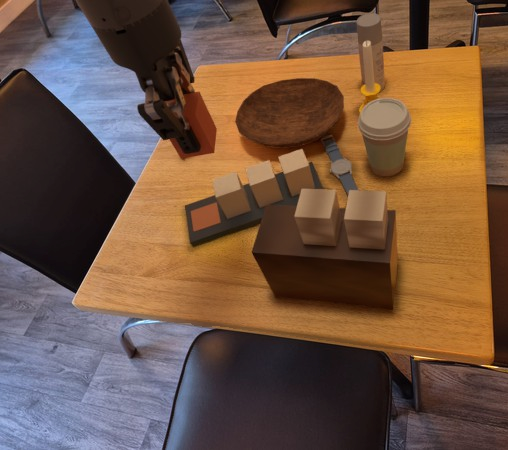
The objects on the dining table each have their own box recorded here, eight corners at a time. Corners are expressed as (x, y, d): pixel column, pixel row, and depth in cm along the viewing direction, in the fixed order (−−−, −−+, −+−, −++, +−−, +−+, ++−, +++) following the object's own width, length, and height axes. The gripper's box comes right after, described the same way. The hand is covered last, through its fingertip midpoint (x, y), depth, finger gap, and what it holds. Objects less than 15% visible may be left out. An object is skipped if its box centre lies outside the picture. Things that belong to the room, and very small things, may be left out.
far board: (327, 200, 77) (320, 172, 71) (193, 247, 77) (175, 222, 71) (313, 167, 83) (305, 137, 77) (187, 210, 83) (170, 184, 77)
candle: (379, 121, 86) (374, 51, 74) (355, 116, 89) (346, 47, 76) (389, 104, 89) (386, 33, 76) (365, 100, 91) (359, 30, 79)
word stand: (397, 261, 67) (394, 179, 52) (393, 309, 63) (388, 234, 48) (286, 253, 72) (254, 176, 57) (275, 297, 68) (237, 225, 53)
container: (383, 94, 91) (379, 26, 79) (360, 94, 92) (353, 27, 81) (386, 79, 94) (383, 12, 82) (364, 80, 95) (358, 13, 83)
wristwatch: (335, 133, 87) (334, 129, 86) (371, 206, 74) (371, 202, 74) (315, 140, 87) (314, 136, 86) (348, 214, 74) (347, 210, 74)
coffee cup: (417, 174, 77) (419, 121, 67) (370, 187, 77) (364, 137, 68) (402, 142, 82) (401, 89, 72) (357, 155, 82) (350, 103, 73)
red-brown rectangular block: (217, 129, 57) (199, 91, 52) (214, 153, 54) (195, 115, 49) (184, 134, 57) (164, 98, 52) (180, 159, 55) (159, 122, 50)
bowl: (255, 98, 99) (249, 80, 95) (352, 94, 93) (349, 74, 89) (231, 162, 88) (223, 144, 84) (340, 162, 82) (336, 143, 78)
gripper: (105, -24, 46) (174, 105, 59) (67, 54, 37) (158, 184, 51) (172, -41, 45) (227, 95, 58) (149, 36, 36) (220, 174, 50)
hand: (195, 136), depth 55 cm, fingers closed on red-brown rectangular block, 4 cm apart
